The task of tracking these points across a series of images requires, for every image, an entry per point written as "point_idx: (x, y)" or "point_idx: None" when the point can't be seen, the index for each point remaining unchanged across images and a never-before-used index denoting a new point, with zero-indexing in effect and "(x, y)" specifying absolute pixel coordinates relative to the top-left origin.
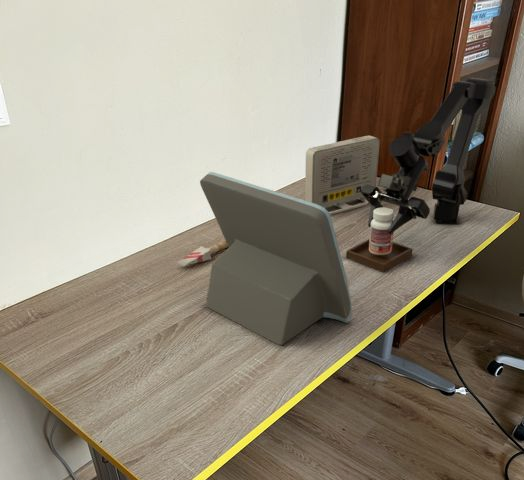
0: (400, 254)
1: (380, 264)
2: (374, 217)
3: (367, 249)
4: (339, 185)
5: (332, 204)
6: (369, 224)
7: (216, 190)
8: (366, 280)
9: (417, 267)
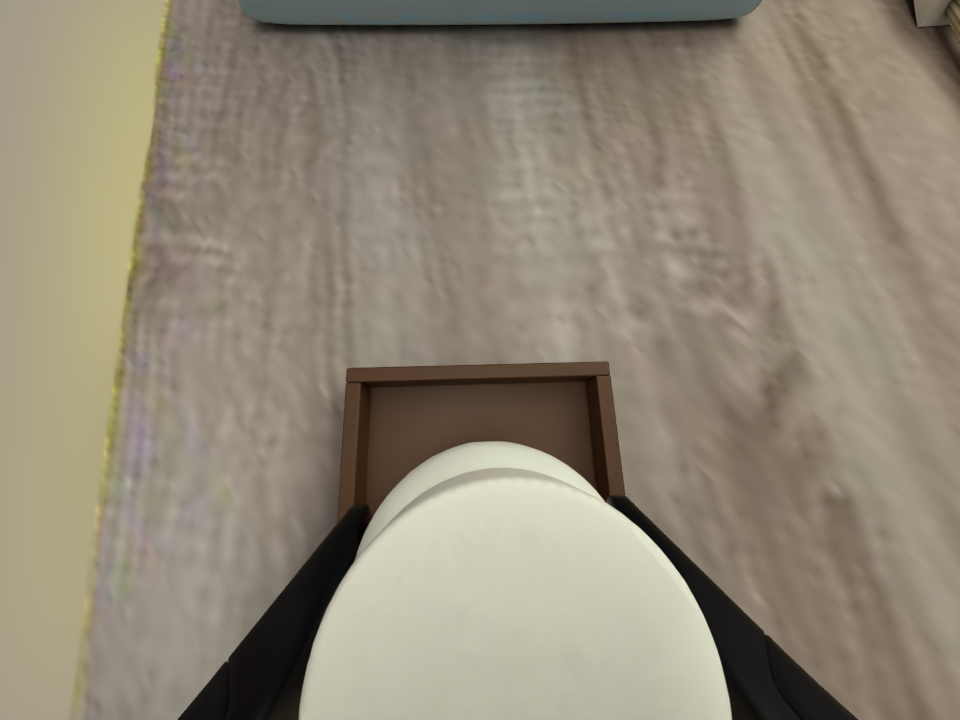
0: None
1: (373, 368)
2: (558, 479)
3: None
4: None
5: None
6: (614, 502)
7: None
8: (378, 268)
9: (249, 552)
